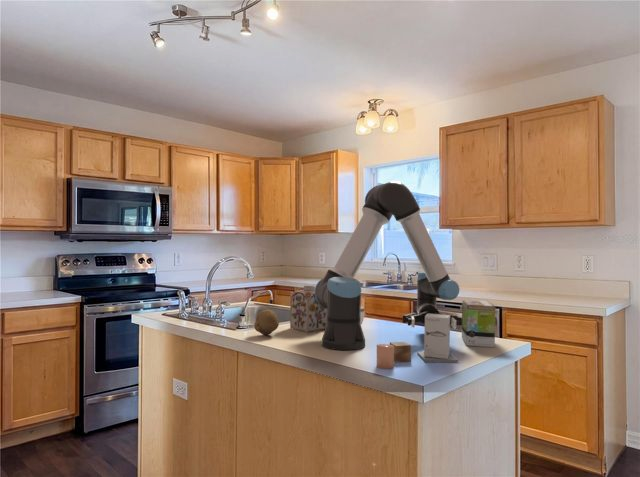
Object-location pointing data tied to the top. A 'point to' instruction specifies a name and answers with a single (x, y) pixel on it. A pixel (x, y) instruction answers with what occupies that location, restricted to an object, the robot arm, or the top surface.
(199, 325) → the top surface
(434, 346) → the supplement box
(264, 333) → the natural sponge
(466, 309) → the tea box
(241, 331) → the top surface
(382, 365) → the peach rounded cylinder
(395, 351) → the walnut block
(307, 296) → the decorative jar
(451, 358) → the slate tile
